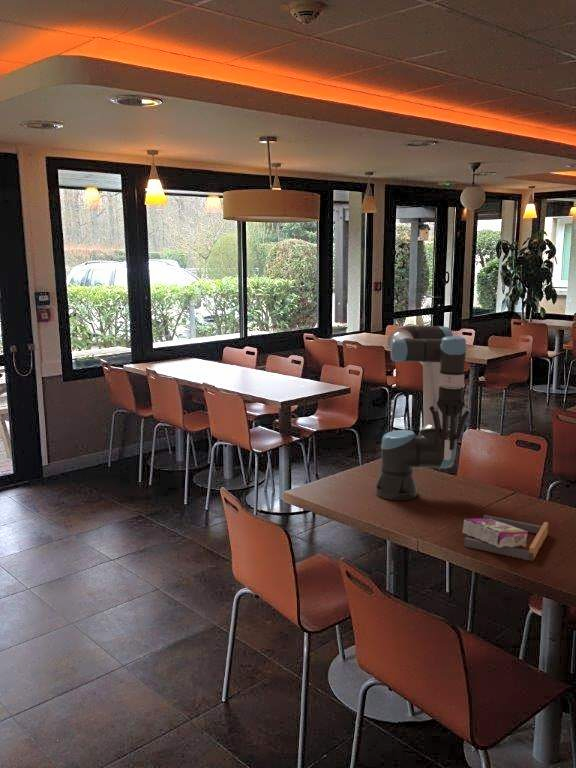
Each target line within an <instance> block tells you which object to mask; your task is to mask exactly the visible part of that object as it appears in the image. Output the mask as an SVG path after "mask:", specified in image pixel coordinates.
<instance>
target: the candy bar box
mask: <svg viewBox="0 0 576 768" xmlns="http://www.w3.org/2000/svg"><path fill="white" fill-rule="evenodd" d="M462 534H464V535H466V536H469V537H470V538H472V539H476V540H481V541H483V542H485V543H488V544H490V545H493V546H495V547H497V548H506V547H513V548H526V547H527V544H528V536H529V535H528V534H529V532H528V531H525V530H522V529H519V528H516V527H513V526H511V525H508V524H505V523H502V522H499V521H496V520H494V519H483V518H464V519H463V524H462Z"/></svg>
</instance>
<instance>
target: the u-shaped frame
mask: <svg viewBox="0 0 576 768" xmlns="http://www.w3.org/2000/svg"><path fill="white" fill-rule="evenodd" d="M482 519H494V520H496V521H499V522H502V523H505V524H508V525H511V526H513V527H516V528H519V529H522V530H525V531H528V533H532V534H535V537H534V538H533V540H532V541H531V543H530V545H529V547H528V550H526V549H523V548H519V547H506V548H497V547H495V546H493V545H490V544H488V543H485V542H483V541H481V540H478V539H476V538H473V537H466V536H465V538H464V545H463V546H464V547H467V548H471V549H476V550H479V551H480V550H481V551H485V552H490V553H494V554H498V555H504V556H507V557H511V556H512V557H513V558H516V557H517V558H516V559H520V558H521V559H520V560H525V561H529V560H530V561H531V562H534V560H535V558H536V556H537V554H538V552H539V551H540V549H539V548H541V547H542V545H543V544H544V542H543V541H545V539H546V538H547V536H548V533H549V532H548V530H549V522H548V521H547V522H546V521H544V522H543V524H542V525H539V524H538V525H537V524H532V523H528V522H522V521H519V520H512V519H507V518H503V517H497V516H493V515H487V514H484V515H483V518H482ZM538 550H539V551H538Z"/></svg>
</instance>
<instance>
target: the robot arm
mask: <svg viewBox="0 0 576 768" xmlns="http://www.w3.org/2000/svg"><path fill="white" fill-rule="evenodd" d="M387 347H388V349H389V351H390V360H391V361H392V362H399V363H404V362H405V363H408V362H409V363H420V364H421V366H422V391H423V392H422V393H423V394H422V398H423V399H422V400H423V403H422V404H423V405H422V407H423V410H422V411H423V413H422V414H423V427H422V428H421V429H420V430H419V435H416V433H415V432H414V431H413V430H410V429H409V430H407V429H399V430H392V431H388V432H387V433H385V434H384V435H383V436H382V438H381V446H380V447H381V457H380V458H381V459H380V460H381V461H380V474H379V476H378V479H377V482H376V485H375V494H376V496H377V497H380V498H381V499H385V500H390V501H408V500H409V501H410V500H412V499H414V498H416V497H417V496H418V487H417V485H416V481H415V477H414V468H418V469H419V468H421V469H423V468H424V469H426V468H427V469H438V470H440V469H449V468H451V467H453V465H454V463H455V460H456V459H455V458H456V453H457V449H458V448H457V446H458V440H459V439H460V438H462V436H463V433H464V430H465V426H466V423H467V419H468V417H469V416H470V414H471V413H472V410H471V409H468V408H466V407H465V403H464V386H465V368H466V354H467V353H466V352H467V340H466V338H464V337H461V336H455V335H454V334H453V332H452V330H451V328H450V327H448V326H441V325H436V326H435V325H406V326H402V327H399V328H396V329H395V330H393V331H392V332H391V333H390V334H389V335H388V337H387ZM460 413H461V418H460V421H459V423H458V427H457V421H458V420H457V419H458V415H459V414H460ZM449 420H450V422H449ZM449 423H450V426H449Z"/></svg>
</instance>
